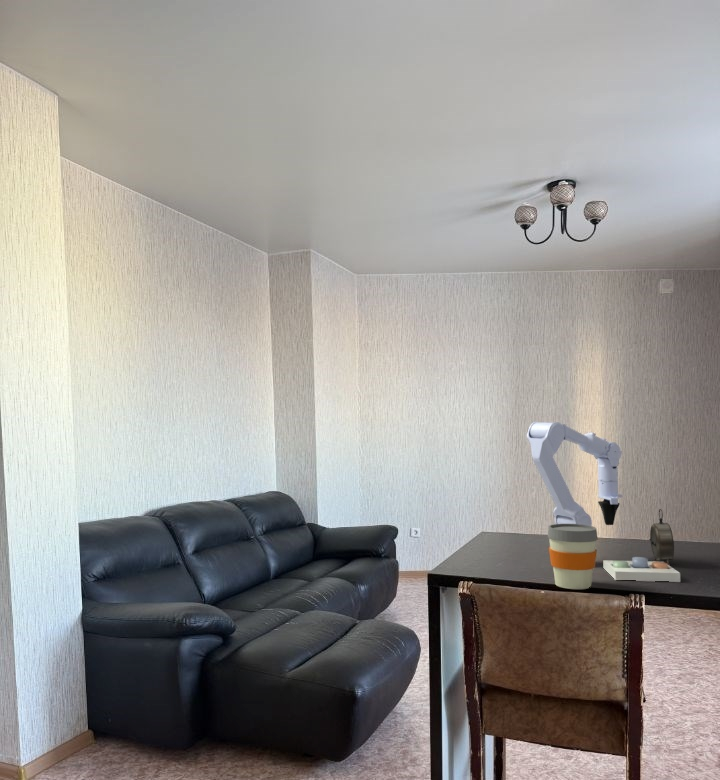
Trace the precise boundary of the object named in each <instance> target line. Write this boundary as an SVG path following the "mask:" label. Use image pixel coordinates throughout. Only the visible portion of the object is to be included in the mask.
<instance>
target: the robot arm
mask: <svg viewBox="0 0 720 780" xmlns="http://www.w3.org/2000/svg"><path fill="white" fill-rule="evenodd" d="M526 439H527V440H528V443H529V445H530V451H531V458H532V460H533V463H534V465H535V466H536V469H537V471H538V473H539V475H540V477H541V478H542V481H543V483H544V485H545V487H546V489H547V491H548V493H549V495H550V497H551V499H552V501H553V504H554V505H555V507H554V509H553V511H552V514H553V516H554V523H555V524H582V525H589V526H592V525H593V520H592V517H591V515H590V514H589V513H587V512H586V510H585V509H584V507H583V506H581V505H580V504H579V503H578V502H576V501H575V499H574V498H573V496H572V493H571V491H570V489H569V487H568V485H567V483H566V481H565V479H564V477H563V474H562V473H561V470H560V469H559V466H558V465H557V463H556V460H555V458H554V455H556V454H557V452H558V450H559V448H561V445H562V443H563V441H567V442H570V443H572V444H573V443H574V444H576V445H578V447H579V449H580V450H581V451H583V452H585V453H588V454H589V455H591V456H593V457H594V459H596V460H597V473H598V474H597V476H598V477H597V479H598V481H597V482H598V494H597V498H599V499H603V501H602V500H600V501H598V502H597V503H598V506H599V507H600V510H601V513H602V517H603V520H604V523H605V525H606V526H613V525H614V524H615V518H616V513H617V510H618V508H619V507H620V502H618V501H619V498H623V494H619V475H618V471H619V470H618V466H619V464H620V459H621V456H622V450H621V447H620V446H619V445H618V443H616V442H613V441H608V440H607V439H606V438H605V437H602V438H601V437H599V436H597V435H596V433H595V432H587V433H584V434H582V433H581V432H579V431H577V430H575V429H573V428H571V427H570V426H568V425H566V424H564V423H561V422H557V421H555V422H543V421H541V422H540V421H534V422H532V423H531V424H529V428H528V430H527V433H526Z"/></svg>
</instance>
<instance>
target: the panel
mask: <svg viewBox="0 0 720 780" xmlns="http://www.w3.org/2000/svg"><path fill="white" fill-rule="evenodd" d="M602 561H603V562H602V564H603V565H602V567H603V568H604V569H605V570H606V571H607V572H608V573H609V574H610V575H611V576H612V577H613V578H614V579H613V578H612V577H611V576H610V575H609V574H608V573H607V574H608V575H609V576H610V577H611V578H612V579H613V580H614V581H616V580H636V581H635V582H655V581H669V582H668V583H681V572H679V571H678V570H676V569H675V568H673V567H672V566H669V565H670V564H669V565H668V569H653V568H652V562H658V560H656V561H654V560H653V561H652V560H651V561H648V568H633V567H632V560H624V561H625V562H628V568H614V567H613V561H614V560H606V559H605V560H602ZM663 562H664V561H663ZM664 563H666V562H664ZM604 569H603V570H604ZM605 570H604V571H605ZM606 571H605V572H606Z"/></svg>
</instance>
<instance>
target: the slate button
mask: <svg viewBox="0 0 720 780" xmlns="http://www.w3.org/2000/svg"><path fill="white" fill-rule="evenodd" d="M648 560H649V559H648V557H644V556H643V557H642V556H632V558H631V561H632V567H633V568H648Z"/></svg>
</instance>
